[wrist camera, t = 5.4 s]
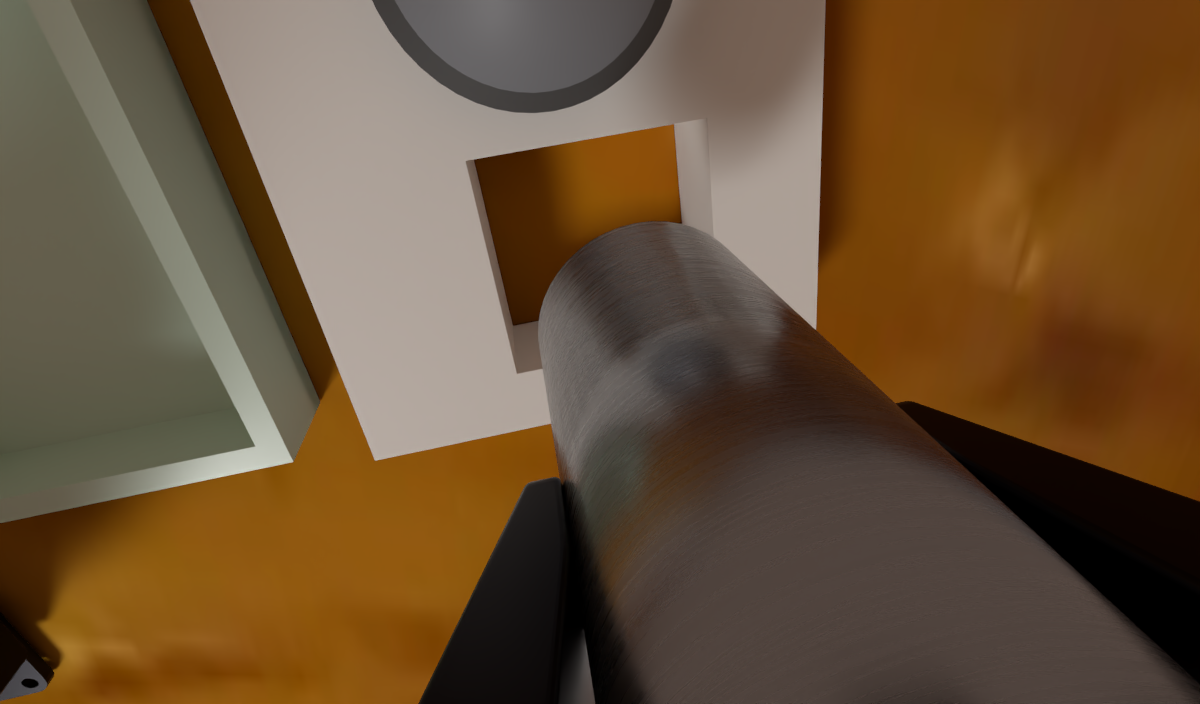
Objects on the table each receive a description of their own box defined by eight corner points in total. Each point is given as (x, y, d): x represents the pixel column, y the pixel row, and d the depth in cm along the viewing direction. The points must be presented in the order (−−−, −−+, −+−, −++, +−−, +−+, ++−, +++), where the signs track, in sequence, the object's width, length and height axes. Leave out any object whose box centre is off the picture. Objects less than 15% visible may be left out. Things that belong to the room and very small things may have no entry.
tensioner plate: (390, 402, 19) (359, 522, 15) (183, -165, 13) (1, -280, 8) (772, 323, 20) (858, 413, 16) (767, -243, 14) (917, -390, 9)
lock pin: (559, 439, 12) (742, 1519, 3) (516, 245, 10) (692, 1592, 1) (755, 397, 12) (1400, 1293, 4) (750, 201, 10) (2097, 1089, 2)
